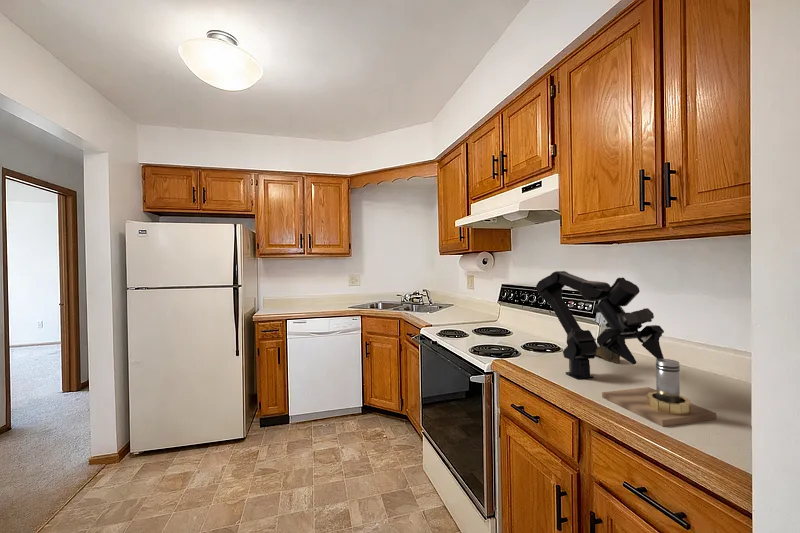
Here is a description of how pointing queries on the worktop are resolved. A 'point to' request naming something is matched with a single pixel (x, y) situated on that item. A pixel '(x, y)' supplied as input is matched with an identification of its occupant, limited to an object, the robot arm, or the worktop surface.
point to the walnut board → (638, 404)
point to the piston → (668, 380)
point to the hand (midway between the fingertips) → (649, 362)
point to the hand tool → (607, 355)
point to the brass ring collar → (669, 405)
